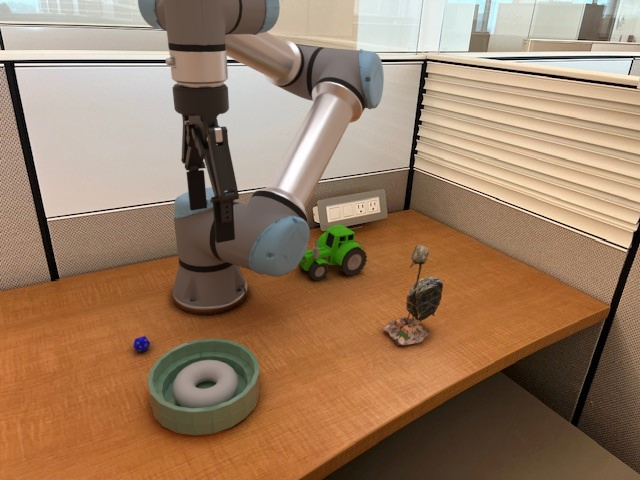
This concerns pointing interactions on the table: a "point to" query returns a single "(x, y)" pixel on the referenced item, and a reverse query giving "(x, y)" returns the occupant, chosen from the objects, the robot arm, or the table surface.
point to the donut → (204, 372)
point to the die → (141, 344)
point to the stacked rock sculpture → (417, 304)
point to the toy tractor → (334, 253)
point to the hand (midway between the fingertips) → (211, 223)
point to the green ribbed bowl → (203, 387)
